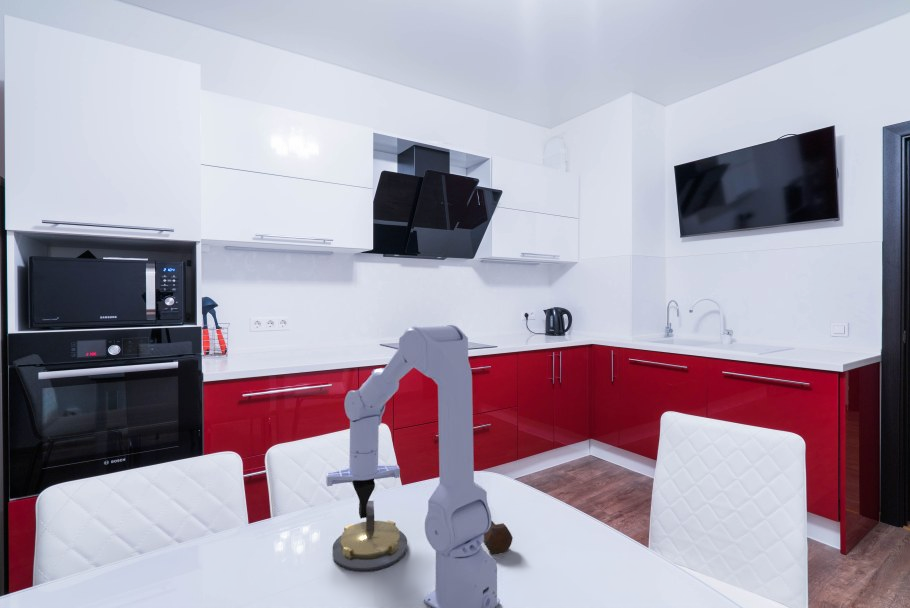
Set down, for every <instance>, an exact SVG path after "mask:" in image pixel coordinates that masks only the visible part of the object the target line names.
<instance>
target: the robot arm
mask: <svg viewBox="0 0 910 608" xmlns="http://www.w3.org/2000/svg"><path fill="white" fill-rule="evenodd" d="M398 341H399V342H398V349H397V350H396V352H394V354H393V356H392V357H391V358H390V359H389V361H388V362H387V364H386V366H385V367H380V368H376V369H375V368H374V369H373V370H372V371H371V375H369V377H368V378H367V380H366V381H365V382H363V383H362V384H361V386H360V387H359V388H358V389H357V390H349V391H348V392H347V394H346V396H345V398H344V410H345V411H344V412H345V414H346V416H347V418H348V419H349V465H348V466H349V467H348V468H345V469H341V470H336V471H331V472H326V475H325V476H326V478H325V480H326V481H325V482H326V486H327V487H333V485H337V484H345V483H346V484H347V483H352V486H353V488H354V490H355V492H356V495H357V497H358V500H359V501H358V503H359V504H358V515H359V518H360V519H366V506H367V503H368V501H370V498H371V495H372V493H373V491H374V490H375V487H376V483H375V480H379V479H386V478H395V479H399V478H401V477H400V476H401V475H400V473H401V472H400V470H401V468H400V466H399V465H398V464H395V465H381V464H380V465H379V432H380V431H379V430H380V429H379V426H380V425H381V424H382V417H383V414H384V413H385V409H386V404H387V402H388V401H389V400H390V399H391V398H392V397H393V396H394V394H395V393H396V392H398V390H399V386H400V380H401V379H402V378H403V377H404V376H406V374H408V373H409V372H410V371H411V370H412V369H416V370H417V371H419V372H420V373H422V374H423V375H424V376H426V377H427V378H431V380H433V382H434V383H435V384H436V385H437V400H438V401H437V403H438V404H437V407H438V409H437V410H438V413H437V417H438V462H439V463H438V464H439V465H438V466H439V468H438V469H439V471H438V472H439V474H438V475H439V483H438V485H437V486H436V488H435V490H434V491H433V492H432V494H431V495H430V497H429V499H428V501H427V503H428V504H427V506H428V507H427V508H428V509H427V514H426V516H425V519H424V533H425V537H426V540H427V542H428V544H429V546H431V548H432V549H433V550H434V551H435V582H434V583H435V584H434V585H435V589H434V590H433V591H432V592H430V593H428V594H427V595H426V596H424V597H423V602H424V603H425V604H427V605H428V606H430V607H432V608H496V607H498V605H500V604H501V603H500V602H501V600H500V599H499V598H498V564H497V562H496V560H495V558H494V557H493V556H491V555H490V554H488V553H487V552H486V550H485V549H484V547H483V546H482V543H484V533H486V532H488V530H489V529H490V527H491V520H492V513H491V510H490V507H489V505H488V503H489V502H488V497H487V493H488V492H487V491H486V490H485V489H484V488H483V487H482V486H480V485H479V483H476V482H475V477H474V475H475V473H474V472H475V471H474V469H475V468H474V467H475V465H474V423H473V422H474V421H473V418H474V416H473V413H474V412H473V409H474V406H473V374H472V368H471V364H470V361H469V338H468V336H467V335H466V334H465V333H464V332H463V331H462V329H460V328H459V326H457V325H454V324H450V325H444V326H443V325H442V326H421V327H420V326H419V327H418V326H410V327H408V328H407V329H405V331H404V333H403V334H402V335H400V337H399V338H398Z"/></svg>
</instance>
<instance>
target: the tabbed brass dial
mask: <svg viewBox="0 0 910 608" xmlns="http://www.w3.org/2000/svg"><path fill="white" fill-rule="evenodd" d="M374 502H375V501H374V500H368V503H367V506H366V518H365V521H362V522H358V523H355V524H352V523H349V524H348V525H346V526H345V527H343V532H342V533H341V535H340V536H341V549H342V551H343V556H344V557H346V558H348V559H351V558H352V557H355V558H362V559H368V558H376V557H380V556H383V555H386V554H388V553H390V554H393V553H395V552H396V551H398V550H399V537H400V533H399V531H400V529H399V528H398V526H396V522H394V521H392V520H387V521H382V520H375V503H374Z"/></svg>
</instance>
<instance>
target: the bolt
mask: <svg viewBox="0 0 910 608" xmlns="http://www.w3.org/2000/svg"><path fill="white" fill-rule="evenodd" d="M512 543H513V535H512V534H511V531H510V529H508V527H507V525H506V524H504V523H495V522H494V521H493V520H492V519H491V527H490V529H489V530H488V532H486V533H484V542H483V544H484V546H485V547H486V549H487V550H488V552H489V554H491V555H492V556H493V555H495V556H496V555H502V554H505V553H507V552H508V551H509V549H510V547H511V545H512Z"/></svg>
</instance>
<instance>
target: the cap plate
mask: <svg viewBox="0 0 910 608" xmlns="http://www.w3.org/2000/svg"><path fill="white" fill-rule="evenodd" d="M399 533H400V537H399V550H398V551H396V552H395V553H393V554H390V553H388V554H386V555H383V556H380V557H376V558H368V559H362V558H355V557H352V558H351V559H348V558H346V557H344V556H343V551H342V549H341V535H340V536H338V538H336V540H335V541H334V542H333V545H332V558H333V559H332V560H333V561H334V563H335V564H336V565H337V566H339V567H340V568H342V569H344V570H347V571H351V572H358V573H368V572H369V573H370V572H372V573H373V572H377V571H381V570H384V569H388V568H391V567H392V566H394V565H396V564H397V563H399V562H400V561H401V560H403V559H404V558H405V556H406V554H407V552H408V538H407V536H406V535H405V534H404V532H402V531H401V530H399Z"/></svg>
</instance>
